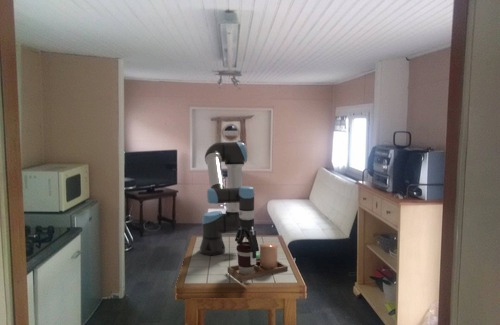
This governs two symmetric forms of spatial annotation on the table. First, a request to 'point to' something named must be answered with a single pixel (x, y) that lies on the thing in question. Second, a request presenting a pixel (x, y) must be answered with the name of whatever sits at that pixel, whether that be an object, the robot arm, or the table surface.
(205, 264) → the table surface
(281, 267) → the divided tray
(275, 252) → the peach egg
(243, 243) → the coffee cup
